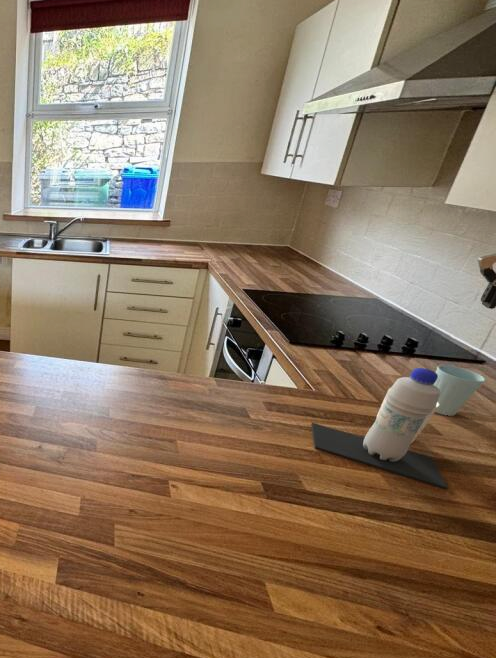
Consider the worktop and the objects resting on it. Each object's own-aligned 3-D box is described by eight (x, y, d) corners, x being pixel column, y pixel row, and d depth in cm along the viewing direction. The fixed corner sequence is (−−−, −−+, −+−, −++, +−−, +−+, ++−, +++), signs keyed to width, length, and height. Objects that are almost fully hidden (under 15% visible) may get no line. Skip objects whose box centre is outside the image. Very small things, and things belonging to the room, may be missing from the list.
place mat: (431, 458, 83) (432, 457, 82) (447, 489, 75) (448, 487, 75) (311, 424, 92) (312, 422, 92) (314, 448, 85) (315, 446, 85)
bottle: (357, 438, 87) (399, 357, 79) (398, 451, 84) (448, 368, 75) (360, 455, 82) (406, 371, 74) (405, 470, 79) (458, 383, 70)
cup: (471, 421, 95) (495, 383, 90) (432, 416, 96) (454, 378, 92) (445, 403, 101) (467, 367, 97) (409, 399, 103) (429, 363, 99)
